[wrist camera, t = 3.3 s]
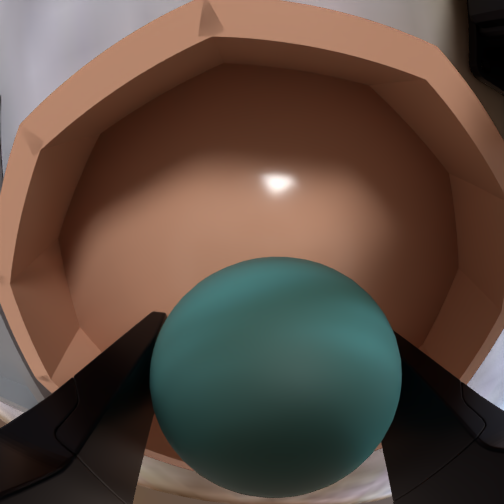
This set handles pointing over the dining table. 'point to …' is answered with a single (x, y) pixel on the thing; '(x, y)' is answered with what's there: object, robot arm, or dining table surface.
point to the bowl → (253, 182)
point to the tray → (16, 367)
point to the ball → (275, 377)
